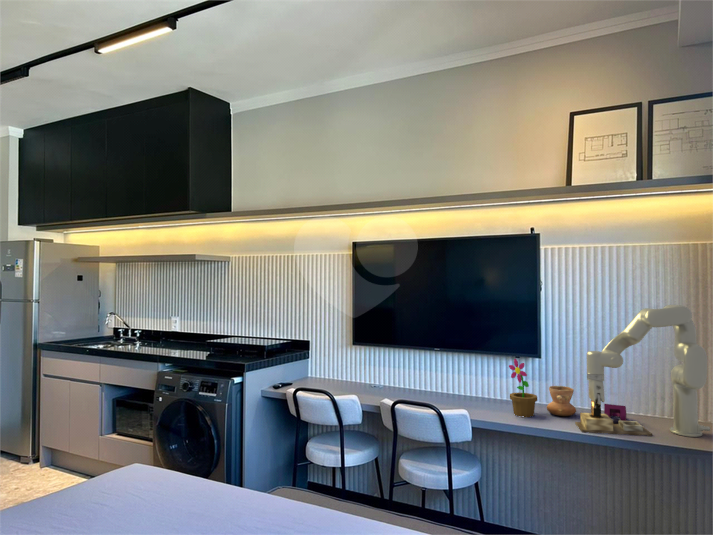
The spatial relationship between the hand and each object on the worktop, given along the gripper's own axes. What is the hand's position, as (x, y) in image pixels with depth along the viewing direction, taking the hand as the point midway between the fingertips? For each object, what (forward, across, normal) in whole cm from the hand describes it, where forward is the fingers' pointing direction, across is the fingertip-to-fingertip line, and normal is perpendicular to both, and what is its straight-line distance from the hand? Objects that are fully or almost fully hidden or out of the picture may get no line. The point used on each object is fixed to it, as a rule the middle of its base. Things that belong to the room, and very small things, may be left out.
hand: (596, 414), depth 236 cm
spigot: (+3, 0, 0) cm, 3 cm away
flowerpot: (+7, +20, +31) cm, 37 cm away
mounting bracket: (+7, +18, -14) cm, 23 cm away
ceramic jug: (+7, +25, +11) cm, 28 cm away
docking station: (+7, 0, -7) cm, 10 cm away
